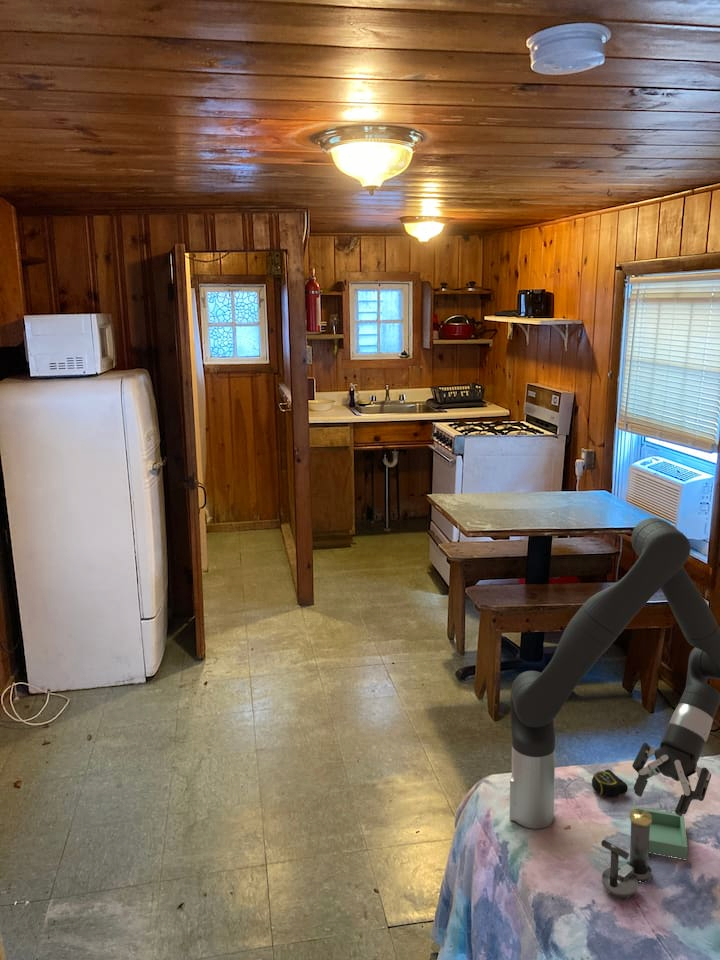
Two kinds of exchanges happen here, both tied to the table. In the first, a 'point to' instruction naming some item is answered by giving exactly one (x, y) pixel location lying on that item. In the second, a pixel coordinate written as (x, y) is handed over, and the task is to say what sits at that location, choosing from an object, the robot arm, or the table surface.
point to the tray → (667, 834)
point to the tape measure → (608, 784)
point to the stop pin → (640, 844)
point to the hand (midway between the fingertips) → (657, 804)
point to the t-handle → (618, 874)
